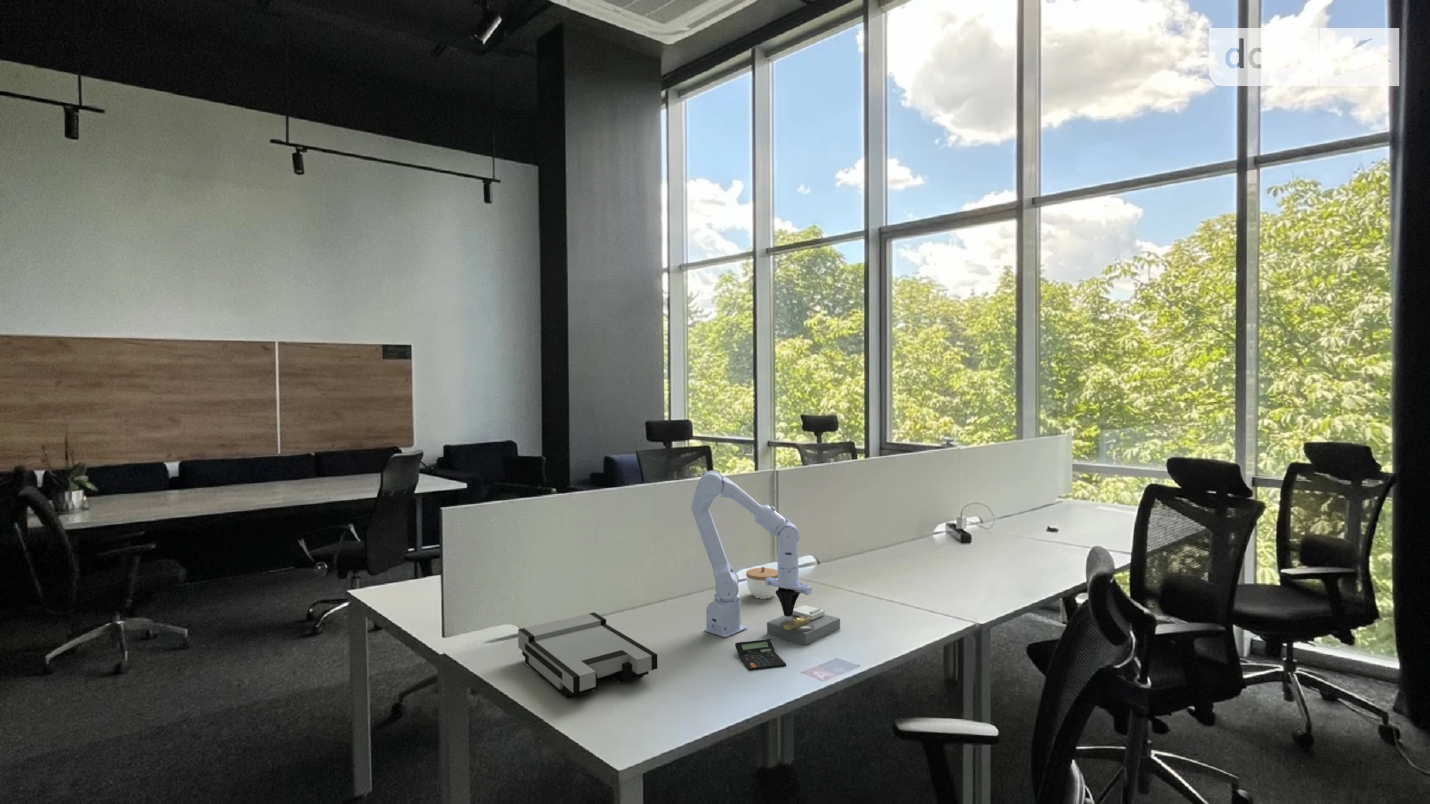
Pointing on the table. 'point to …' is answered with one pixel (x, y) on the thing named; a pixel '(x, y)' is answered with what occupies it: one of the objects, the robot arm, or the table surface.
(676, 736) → the table surface
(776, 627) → the grey flat block
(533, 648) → the game console
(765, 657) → the calculator
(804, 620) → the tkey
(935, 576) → the table surface
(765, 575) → the lidded jar
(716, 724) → the table surface
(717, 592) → the robot arm
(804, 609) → the hatch cover
